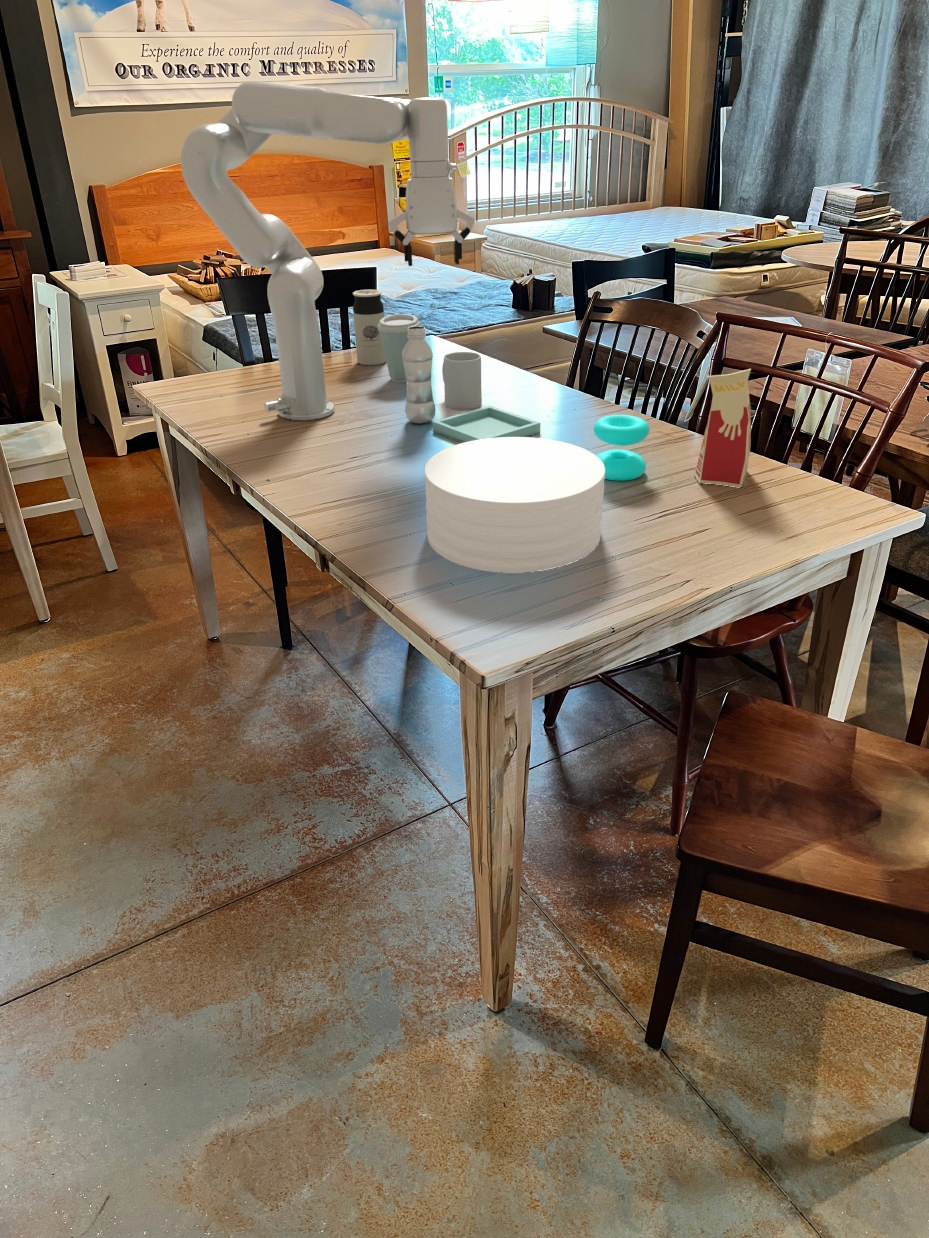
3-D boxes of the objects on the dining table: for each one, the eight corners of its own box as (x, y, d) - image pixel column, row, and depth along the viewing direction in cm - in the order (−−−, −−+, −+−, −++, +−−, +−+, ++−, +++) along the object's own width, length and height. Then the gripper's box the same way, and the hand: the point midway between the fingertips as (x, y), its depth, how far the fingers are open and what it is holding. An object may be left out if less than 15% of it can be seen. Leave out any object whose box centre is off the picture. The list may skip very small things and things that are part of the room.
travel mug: (360, 358, 237) (355, 289, 228) (389, 358, 236) (385, 289, 227) (354, 366, 230) (348, 295, 221) (384, 366, 230) (379, 295, 220)
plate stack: (469, 589, 125) (468, 516, 119) (403, 517, 147) (399, 452, 141) (634, 551, 134) (641, 482, 128) (548, 489, 156) (550, 427, 151)
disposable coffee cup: (422, 385, 214) (419, 322, 206) (378, 385, 214) (374, 323, 207) (424, 373, 223) (421, 312, 215) (382, 374, 223) (378, 313, 216)
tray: (482, 451, 173) (482, 440, 172) (433, 431, 184) (432, 421, 183) (540, 433, 182) (540, 422, 181) (489, 415, 193) (489, 405, 191)
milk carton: (746, 471, 162) (764, 363, 151) (743, 489, 154) (761, 377, 144) (696, 466, 164) (710, 359, 154) (691, 483, 157) (705, 373, 146)
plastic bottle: (442, 421, 190) (439, 327, 179) (420, 429, 186) (415, 333, 175) (421, 415, 194) (417, 323, 183) (399, 422, 189) (393, 328, 179)
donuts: (629, 409, 162) (661, 424, 155) (625, 460, 168) (656, 477, 160) (583, 417, 159) (614, 433, 151) (580, 469, 164) (610, 487, 156)
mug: (489, 405, 199) (488, 357, 193) (458, 412, 195) (457, 363, 189) (459, 393, 207) (458, 347, 202) (429, 400, 203) (427, 352, 198)
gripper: (471, 168, 174) (472, 259, 182) (384, 171, 172) (390, 263, 181) (475, 170, 167) (477, 265, 176) (386, 174, 166) (392, 269, 175)
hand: (433, 264), depth 178 cm, fingers open, 9 cm apart
